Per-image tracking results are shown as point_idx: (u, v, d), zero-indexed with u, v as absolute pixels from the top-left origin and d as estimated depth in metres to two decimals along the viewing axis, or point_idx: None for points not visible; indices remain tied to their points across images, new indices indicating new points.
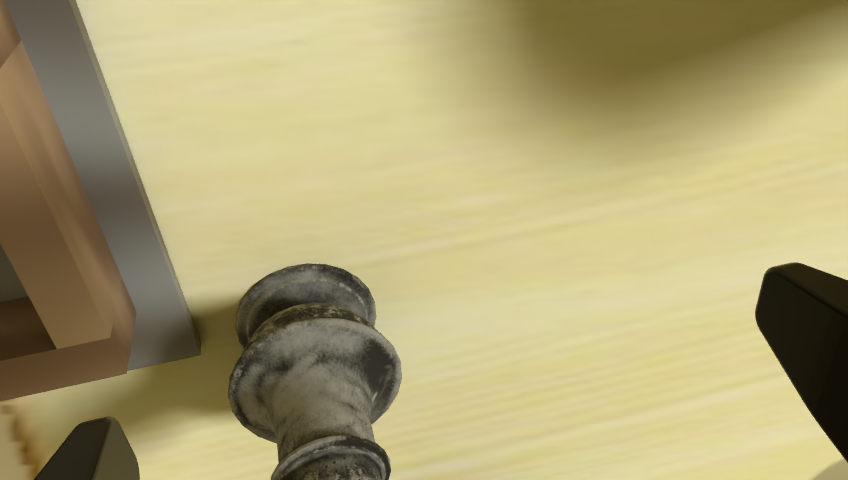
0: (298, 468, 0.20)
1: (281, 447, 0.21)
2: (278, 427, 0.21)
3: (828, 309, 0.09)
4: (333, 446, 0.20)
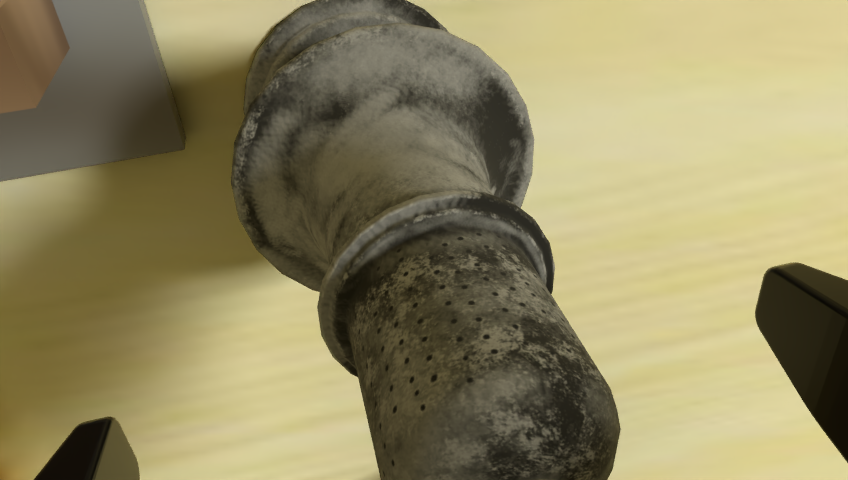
0: (381, 255, 0.09)
1: (338, 239, 0.10)
2: (328, 215, 0.11)
3: (828, 309, 0.09)
4: (454, 210, 0.09)
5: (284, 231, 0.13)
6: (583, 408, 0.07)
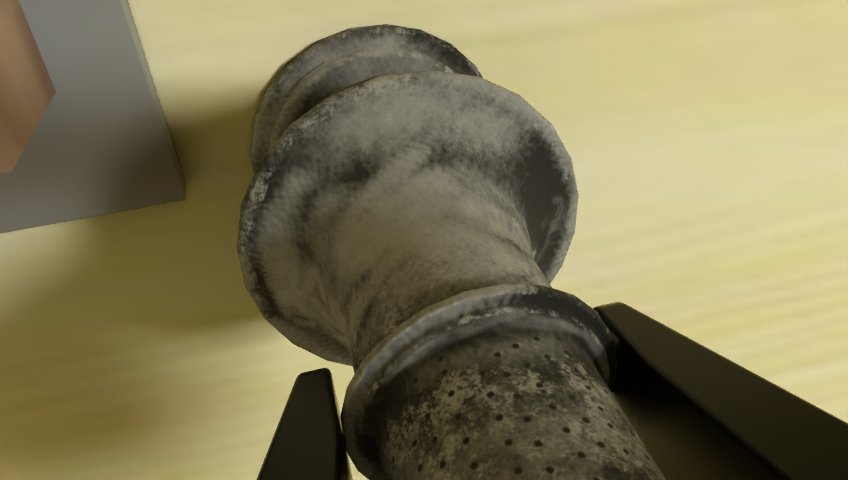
0: (418, 363, 0.08)
1: (363, 330, 0.09)
2: (350, 296, 0.10)
3: (633, 356, 0.08)
4: (507, 309, 0.08)
5: (297, 301, 0.11)
6: None
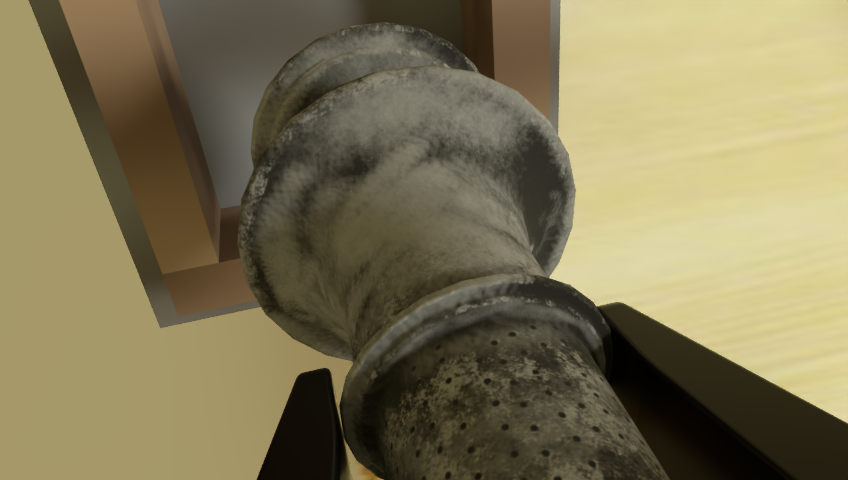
0: (415, 352, 0.08)
1: (362, 321, 0.09)
2: (349, 288, 0.10)
3: (633, 356, 0.08)
4: (504, 298, 0.08)
5: (297, 296, 0.12)
6: None
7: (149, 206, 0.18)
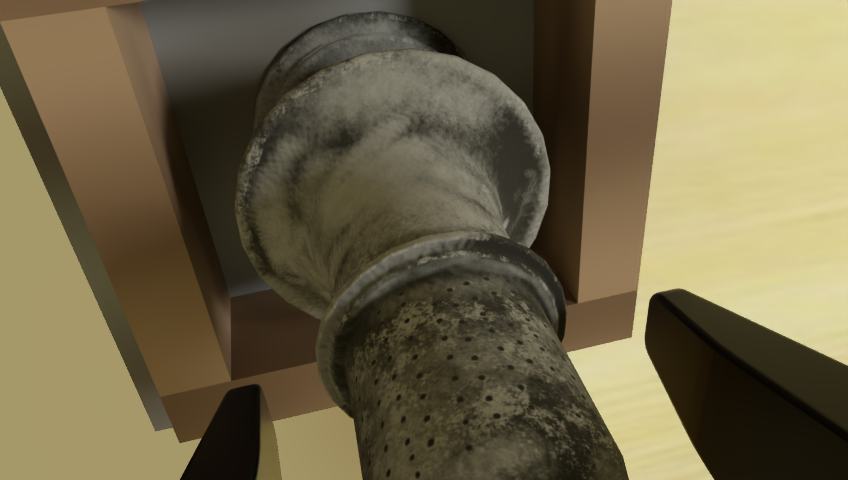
0: (382, 297, 0.09)
1: (340, 276, 0.10)
2: (331, 248, 0.11)
3: (700, 340, 0.08)
4: (462, 252, 0.09)
5: (288, 259, 0.13)
6: None
7: (144, 320, 0.14)
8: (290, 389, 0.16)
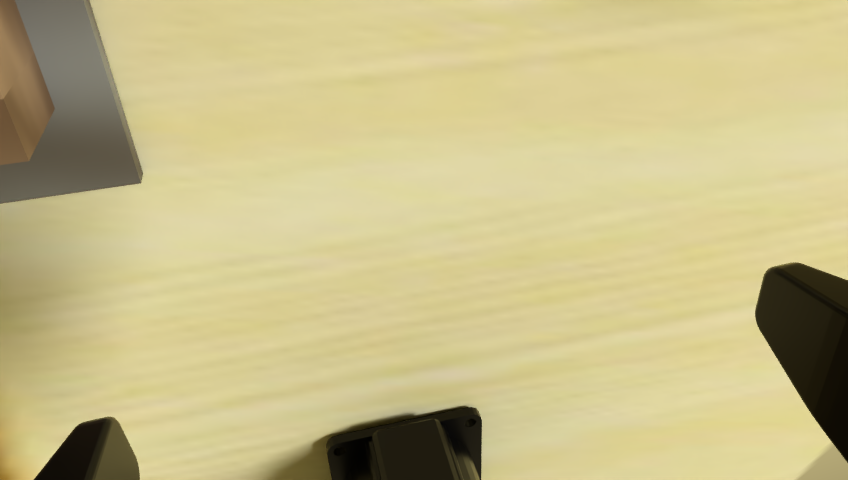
0: None
1: None
2: None
3: (828, 309, 0.09)
4: None
5: None
6: None
7: None
8: None
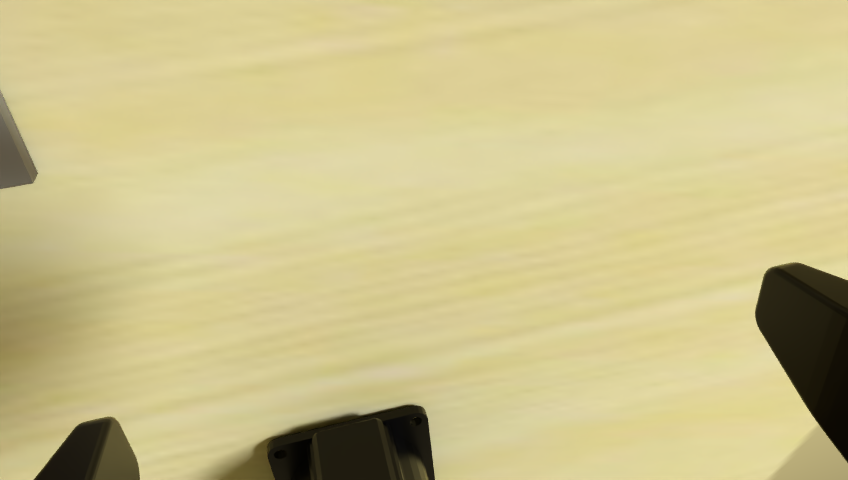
0: None
1: None
2: None
3: (828, 309, 0.09)
4: None
5: None
6: None
7: None
8: None
